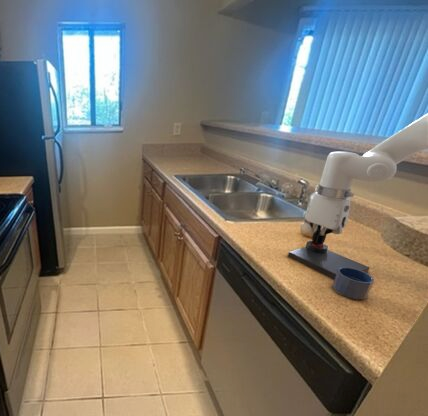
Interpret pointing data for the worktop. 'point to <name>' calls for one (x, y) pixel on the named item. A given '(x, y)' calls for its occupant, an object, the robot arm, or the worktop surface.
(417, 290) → the worktop surface
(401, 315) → the worktop surface
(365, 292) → the cup
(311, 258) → the scale
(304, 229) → the silver bottle
